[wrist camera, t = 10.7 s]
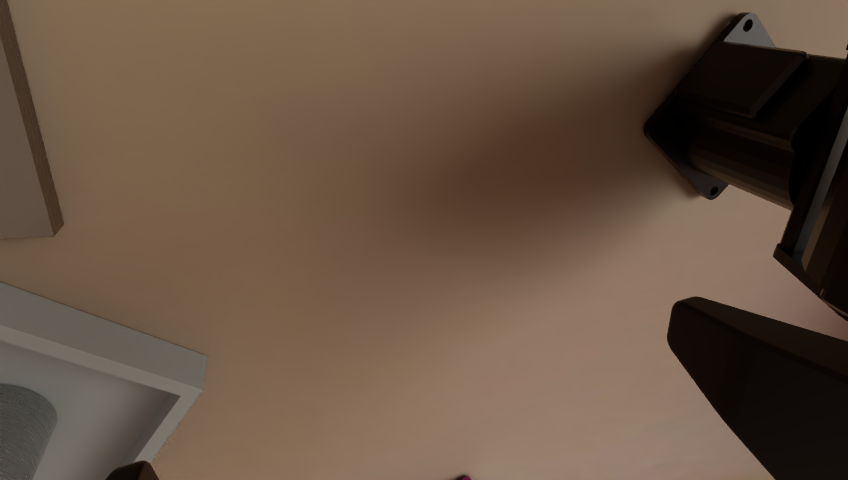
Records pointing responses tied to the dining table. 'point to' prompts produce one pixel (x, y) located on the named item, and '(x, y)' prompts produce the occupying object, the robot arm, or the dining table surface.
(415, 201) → the dining table surface
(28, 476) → the orange capped tube
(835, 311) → the robot arm
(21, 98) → the plate
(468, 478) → the candy bar box
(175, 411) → the tray
